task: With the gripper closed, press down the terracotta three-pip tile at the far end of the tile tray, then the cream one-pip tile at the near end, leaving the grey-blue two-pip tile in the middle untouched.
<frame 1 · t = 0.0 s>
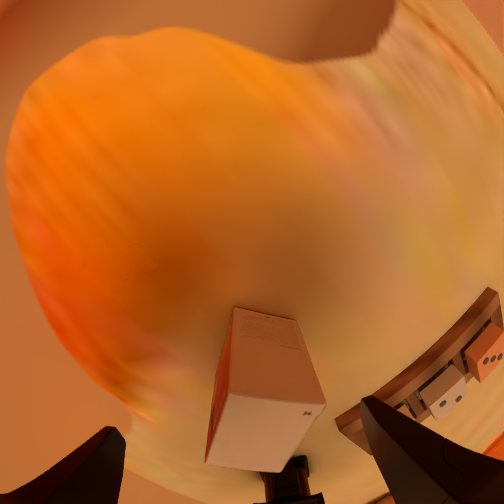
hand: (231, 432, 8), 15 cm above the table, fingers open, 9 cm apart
tile two pip: (445, 394, 22), point 4 cm above the table, slide at 0.0 cm
cereal bowl: (389, 498, 36), on the table
small box: (253, 349, 24), on the table
tile three pip: (487, 353, 21), point 4 cm above the table, slide at 0.0 cm
tile one pip: (397, 432, 23), point 4 cm above the table, slide at 0.0 cm
tile tray: (430, 377, 26), on the table
milk: (494, 23, 15), on the table
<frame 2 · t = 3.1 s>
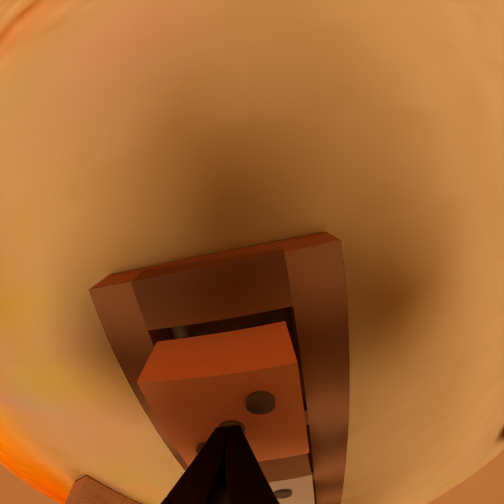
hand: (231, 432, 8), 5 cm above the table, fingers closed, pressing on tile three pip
tile two pip: (264, 484, 11), point 4 cm above the table, slide at 0.0 cm
small box: (110, 494, 18), on the table
tile three pip: (232, 405, 9), point 4 cm above the table, slide at 0.1 cm, touching gripper
tile tray: (260, 437, 14), on the table
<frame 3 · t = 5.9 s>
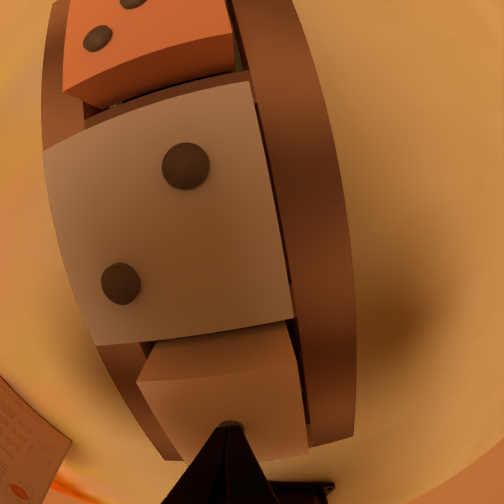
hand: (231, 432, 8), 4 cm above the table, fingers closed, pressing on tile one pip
tile two pip: (166, 220, 6), point 4 cm above the table, slide at 0.0 cm
small box: (31, 418, 14), on the table
tile three pip: (146, 16, 6), point 3 cm above the table, slide at 1.1 cm
tile one pip: (232, 405, 9), point 3 cm above the table, slide at 1.1 cm, touching gripper
tile tray: (193, 208, 10), on the table
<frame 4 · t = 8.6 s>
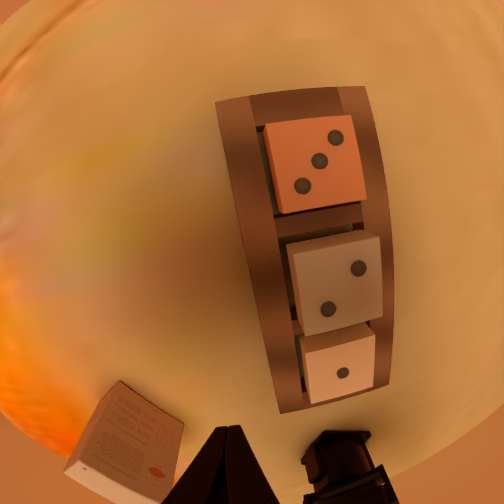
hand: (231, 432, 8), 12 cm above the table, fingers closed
tile two pip: (336, 281, 16), point 4 cm above the table, slide at 0.0 cm
small box: (140, 412, 23), on the table
tile three pip: (313, 163, 15), point 3 cm above the table, slide at 1.1 cm
tile one pip: (337, 362, 19), point 3 cm above the table, slide at 1.1 cm
tile tray: (320, 264, 20), on the table
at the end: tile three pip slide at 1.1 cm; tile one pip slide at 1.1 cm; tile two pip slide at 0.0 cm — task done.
